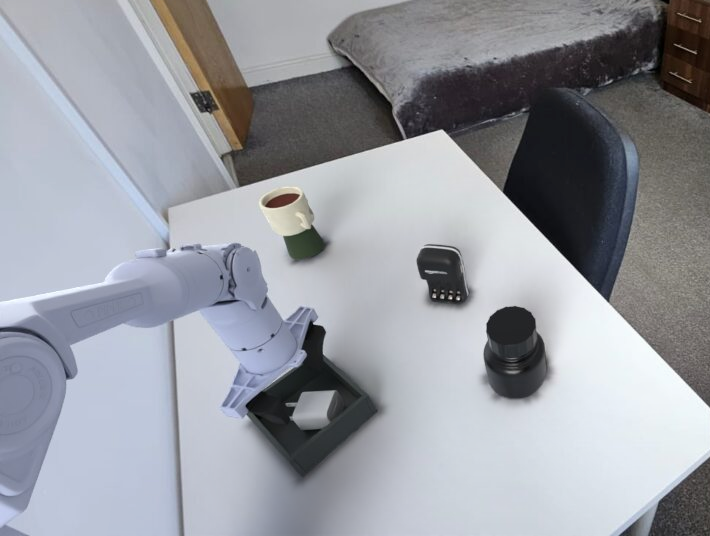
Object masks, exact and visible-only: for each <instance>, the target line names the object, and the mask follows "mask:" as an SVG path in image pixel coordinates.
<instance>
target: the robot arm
mask: <svg viewBox="0 0 710 536" xmlns="http://www.w3.org/2000/svg"><path fill="white" fill-rule="evenodd" d="M268 292H269V287H268V283H267V281H266V279H265V278H264V275H263V271H262V264H261V260H260V257H259V254H258V253H257V250H253V249H251V248H250V247H247V246H244V245H242V244H241V243H239V242H232V243H222V244H211V245H202V244H200V243H199V242H198V243H188V244H182V245H180V246H179V247H178V249H177V248H174V247H171V248H169V249H166V248H164V247H157V248H150V249H142V250H137V251H135V258H134V259H129V260H125V261H124V262H121V263H120V264H119V263H118V265H116V266H114V267H113V269H111V270H110V271H109V273H108V274H107V275H106V277H105V278H104V281H103V282H99V283H94V284H87V285H82V286H77V287H72V288H67V289H62V290H57V291H51V292H46V293H45V292H44V293H41V294H35V295H30V296H26V297H20V298H14V299H10V300H4V301H0V536H30V535H29V534H27V533H24V532H23V531H20V530H18V529H16V528H14V527H11V526H10V525H8V524H9V523H10V522H11V521H13V520H14V519H15V518H17V517H18V516H20V515H21V514H22V513H24V512H25V511H26V510H27V509H28V506H29V504H30V501H31V498H32V496H33V493H34V489H35V487H36V484H37V481H38V479H39V476H40V473H41V469H42V466H43V465H44V462H45V458H46V456H47V453H48V451H49V450H48V449H49V447H50V444H51V441H52V439H53V435H54V433H55V430H56V428H57V425H58V421H59V419H60V416H61V412H62V409H63V405H64V402H65V398H66V393H67V381H68V380H74V379H75V378H76V377H77V375H78V372H79V369H78V365H77V361H76V356H75V354H74V352H73V349H72V347H71V346H72V345H75V344H78V343H79V342H82V341H85V340H87V339H90V338H92V337H95V336H96V335H99V334H102V333H104V332H107V331H109V330H111V329H114V328H116V327H118V326H120V325H123V324H124V325H126V326H129V327H133V328H138V329H150V328H151V329H152V328H156V327H159V326H162V325H164V324H167V323H170V322H172V321H173V322H174V321H176V320H177V319H181V318H183V317H185V316H188V315H191V314H192V313H195V312H198V313H199V314H200V315H201V316H202V318H203V319H204V320H205V322H206V323H207V324H208V325H209V326H210V327H211V329H212V330H213V331H214V332H215V334H216V335H217V336H218V337H219V338H220V340H221V341H222V342H223V343H224V345H225V346H226V347H227V348H228V350H229V351H230V352H231V354H232V355H233V356H234V357H235V359H237V361H238V362H239V365H238V367H237V370H236V372H235V375H234V376H233V379H232V381H231V384H230V387H229V389H228V391H227V394H226V396H225V397H224V399H223V401H222V402H221V403H220V405H219V406H218V409H219V410H220V411H221V412H222V413H223V414H224V415H225V416H226V417H228V418H234V419H241V420H243V419H244V418H245V417H246V416H247V415H246V414H247V413H248V412H251V413H254V414H257V415H260V416H262V417H264V418H266V419H268V420H269V421H271V422H272V423H277V424H283V425H287V424H288V423H289V421H290V417H289V415H288V414H287V413H286V412H285V410H284V409H283V407H282V405H281V400H280V397H281V396H279V395H273V394H267V392H266V391H262V390H263V389H265V388H266V387H267V386H269V385H270V384H272V383H273V382H274V381H276V380H277V379H278V378H279V377H281V376H282V374H283V373H284V372H286V371H288V369H290V368H295V367H298V366H300V365H301V363H303V365H304V366H305V367H306V368H307V369H308V370H312V371H319V372H322V371H323V370H324V360H323V355H324V342H325V337H326V335H327V330H326V328H325V327H324V325H320V324H314V323H316V322H317V320H318V319H319V315H318V313H317V311H316V310H315V308H314V307H310V306H304V305H299V306H298V308H297V309H296V310H294V311H293V313H291V314H290V315H289V316H288V317H287V318H285V319H283V317H282V316H281V314H280V313H279V311H278V310H277V308H276V307H275V304H274V303H273V302H272V299H270V297H269V295H268Z"/></svg>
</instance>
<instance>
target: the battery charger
mask: <svg viewBox="0 0 710 536" xmlns="http://www.w3.org/2000/svg"><path fill="white" fill-rule="evenodd" d="M463 259H464V258H463V255H462V253H461V251H460V249H459V248H458V247H456V246H454V245H453V246H452V245H445V244H434V243H427V244H424V245H423V246H422V247H421V248H420V249H419V253H418V254H417V257H416V267H417V271H418V274H419V278H420V279H421V280H422V281H426V284H427V289H428V296H429V299H430V301H432V302H435V303H445V304H453V305H454V304H455V305H459V304H460V305H461V304H462V303H464V302H466V300H467V298H468V297H469V293H470V291H469V288H468V281H467V276H466V269H465V264H464V260H463Z"/></svg>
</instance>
